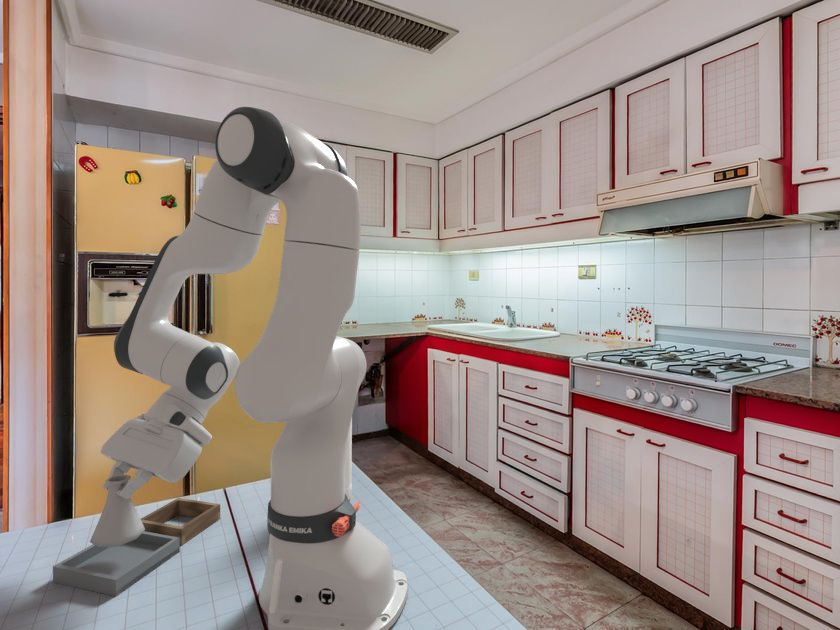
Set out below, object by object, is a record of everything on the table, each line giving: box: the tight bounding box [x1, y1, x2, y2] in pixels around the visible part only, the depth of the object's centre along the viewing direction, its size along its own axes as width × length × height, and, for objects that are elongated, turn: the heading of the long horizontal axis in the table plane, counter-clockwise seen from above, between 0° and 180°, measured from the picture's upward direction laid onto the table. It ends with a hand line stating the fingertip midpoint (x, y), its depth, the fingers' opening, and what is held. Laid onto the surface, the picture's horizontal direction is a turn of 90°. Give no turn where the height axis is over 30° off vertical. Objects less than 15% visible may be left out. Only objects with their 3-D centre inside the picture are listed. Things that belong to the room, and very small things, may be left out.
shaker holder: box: [140, 497, 221, 546], centre depth 88 cm, size 10×10×3 cm
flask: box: [89, 474, 145, 547], centre depth 75 cm, size 7×7×10 cm
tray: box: [52, 531, 181, 597], centre depth 75 cm, size 12×12×2 cm
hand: (114, 493), depth 74 cm, fingers closed on flask, 3 cm apart
